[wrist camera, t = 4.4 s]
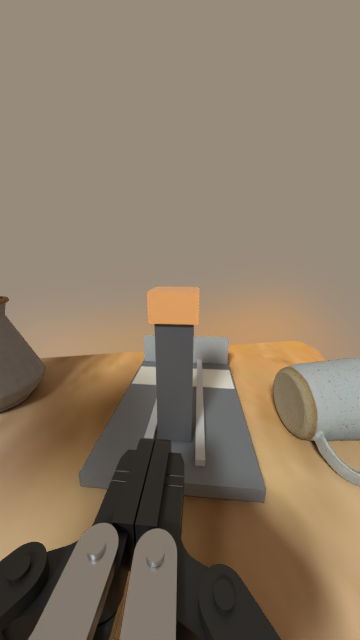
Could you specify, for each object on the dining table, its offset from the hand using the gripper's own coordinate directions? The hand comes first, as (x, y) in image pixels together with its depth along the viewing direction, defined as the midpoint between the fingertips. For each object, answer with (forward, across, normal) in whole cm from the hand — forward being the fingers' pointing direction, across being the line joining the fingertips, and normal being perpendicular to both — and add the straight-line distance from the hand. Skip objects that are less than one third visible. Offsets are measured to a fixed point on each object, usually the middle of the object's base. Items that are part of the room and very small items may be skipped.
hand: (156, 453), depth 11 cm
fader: (+9, 0, +7) cm, 11 cm away
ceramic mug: (+11, -16, +8) cm, 21 cm away
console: (+15, 0, +8) cm, 17 cm away
